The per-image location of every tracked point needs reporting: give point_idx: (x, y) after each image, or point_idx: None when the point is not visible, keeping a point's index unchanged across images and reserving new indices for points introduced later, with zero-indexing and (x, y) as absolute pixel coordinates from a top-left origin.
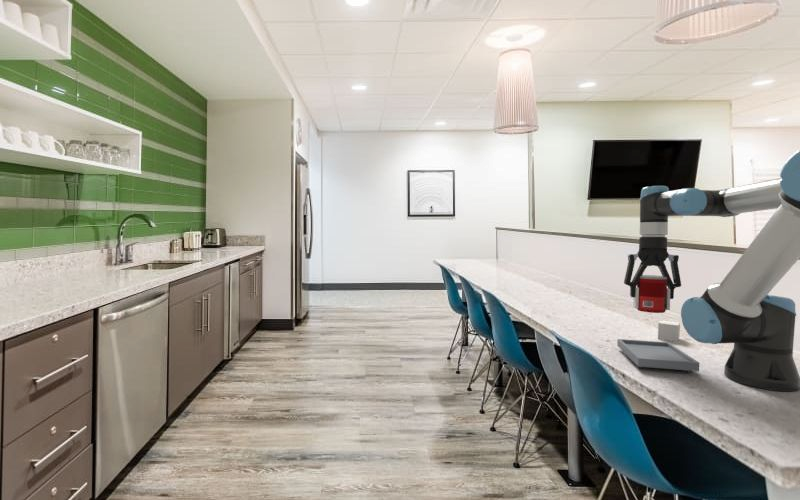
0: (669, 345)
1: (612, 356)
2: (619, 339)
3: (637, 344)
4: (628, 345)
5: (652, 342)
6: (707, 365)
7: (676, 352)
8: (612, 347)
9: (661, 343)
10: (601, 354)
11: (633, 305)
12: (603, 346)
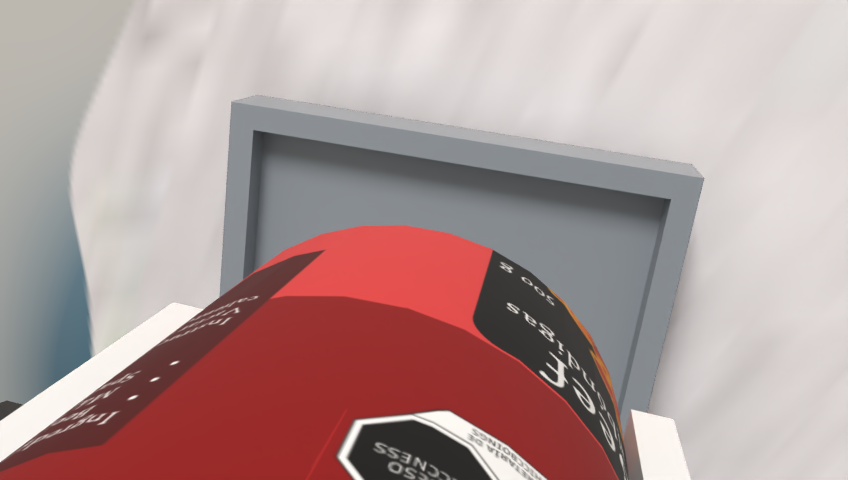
0: (654, 262)
1: (171, 293)
2: (242, 124)
3: (397, 170)
4: (299, 214)
5: (536, 176)
6: (800, 460)
7: (619, 400)
8: (251, 27)
9: (619, 189)
10: (105, 250)
11: (159, 318)
12: (182, 4)
